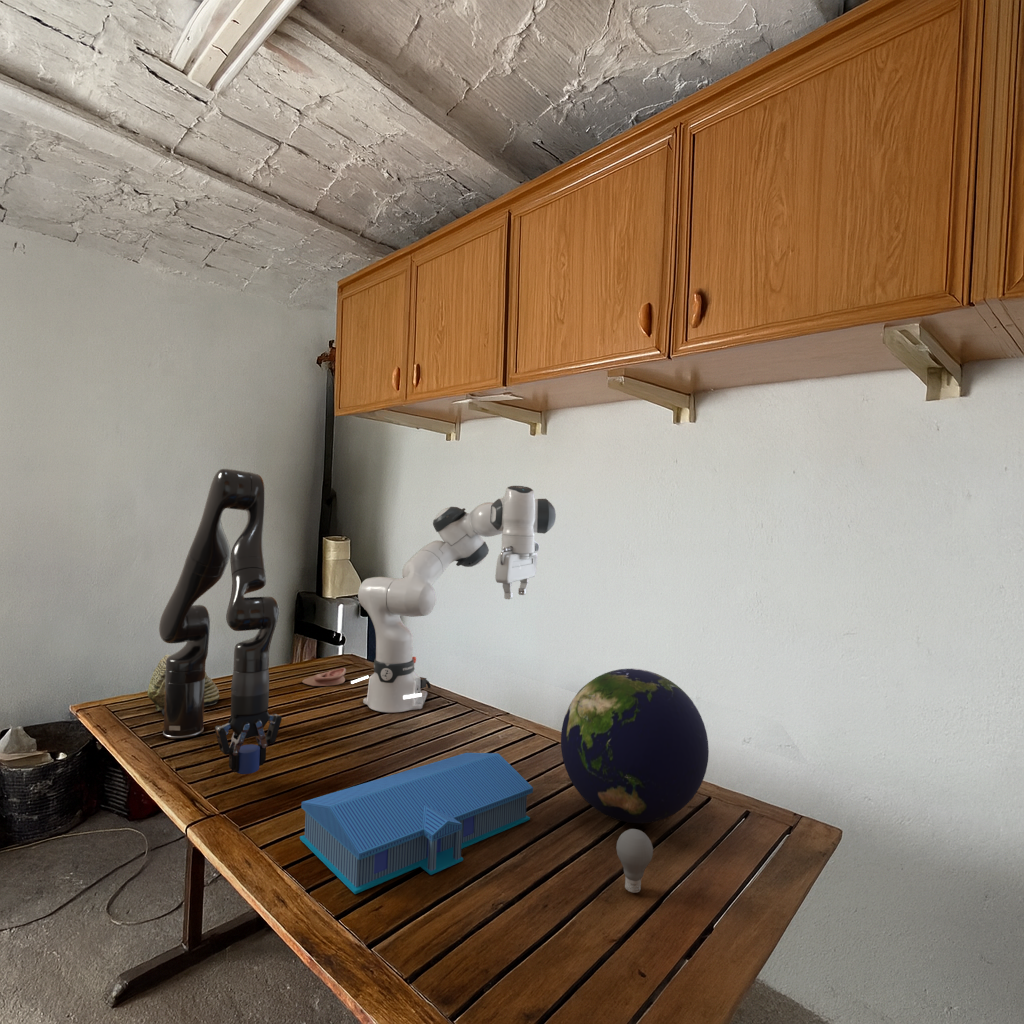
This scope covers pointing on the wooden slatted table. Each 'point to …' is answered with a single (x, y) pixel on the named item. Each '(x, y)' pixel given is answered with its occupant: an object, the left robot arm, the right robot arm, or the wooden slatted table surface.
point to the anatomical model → (326, 678)
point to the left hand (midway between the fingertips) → (247, 767)
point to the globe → (634, 745)
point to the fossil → (158, 687)
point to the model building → (414, 818)
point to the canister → (249, 759)
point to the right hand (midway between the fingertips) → (515, 596)
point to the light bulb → (634, 857)
